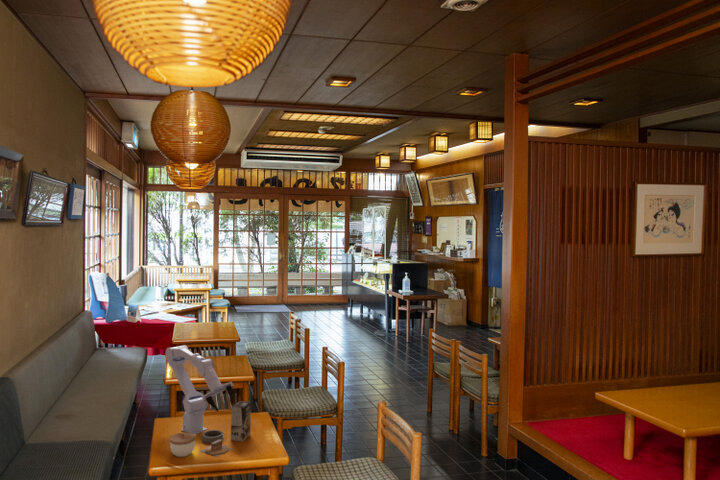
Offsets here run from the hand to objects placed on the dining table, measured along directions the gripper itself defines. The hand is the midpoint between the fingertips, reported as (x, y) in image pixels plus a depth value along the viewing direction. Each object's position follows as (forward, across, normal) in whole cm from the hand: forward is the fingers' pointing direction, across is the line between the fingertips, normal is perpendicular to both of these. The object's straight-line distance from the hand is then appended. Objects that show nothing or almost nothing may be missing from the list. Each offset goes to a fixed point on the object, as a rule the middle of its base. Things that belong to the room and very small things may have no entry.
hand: (225, 406), depth 249 cm
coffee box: (+11, +1, +18) cm, 21 cm away
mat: (+14, -11, +6) cm, 19 cm away
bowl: (+5, -11, +16) cm, 20 cm away
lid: (+14, -11, +6) cm, 19 cm away
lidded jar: (+9, -24, +4) cm, 26 cm away
